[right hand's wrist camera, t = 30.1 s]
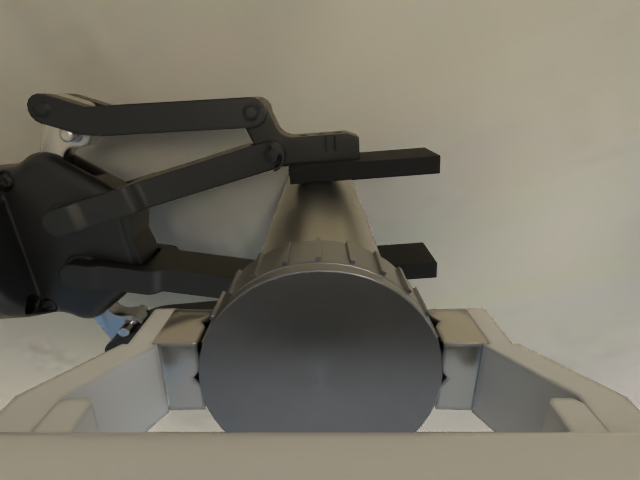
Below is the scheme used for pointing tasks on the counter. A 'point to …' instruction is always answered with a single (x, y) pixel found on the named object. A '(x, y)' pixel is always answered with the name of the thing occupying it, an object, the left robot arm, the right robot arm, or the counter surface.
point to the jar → (319, 216)
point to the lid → (320, 345)
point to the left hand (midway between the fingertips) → (429, 211)
